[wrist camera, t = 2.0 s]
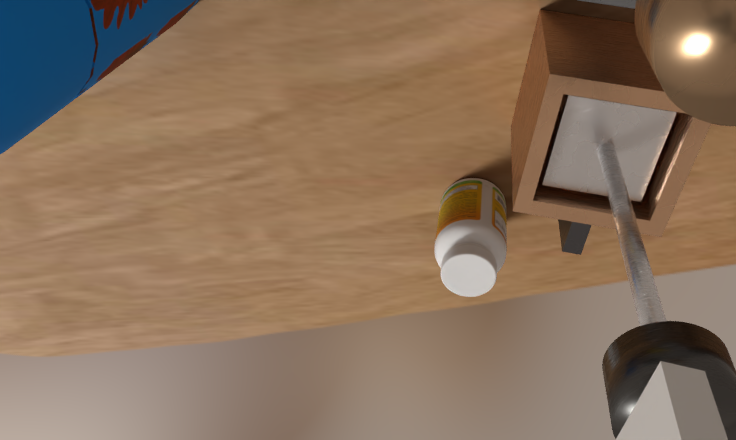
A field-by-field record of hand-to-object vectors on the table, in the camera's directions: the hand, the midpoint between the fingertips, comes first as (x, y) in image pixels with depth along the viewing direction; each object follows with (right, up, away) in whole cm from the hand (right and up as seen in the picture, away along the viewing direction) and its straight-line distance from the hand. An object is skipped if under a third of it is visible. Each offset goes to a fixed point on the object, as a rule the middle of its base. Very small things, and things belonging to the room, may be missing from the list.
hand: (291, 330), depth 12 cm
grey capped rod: (+16, +7, +27) cm, 32 cm away
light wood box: (+17, +11, +36) cm, 41 cm away
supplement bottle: (+10, +4, +42) cm, 44 cm away
